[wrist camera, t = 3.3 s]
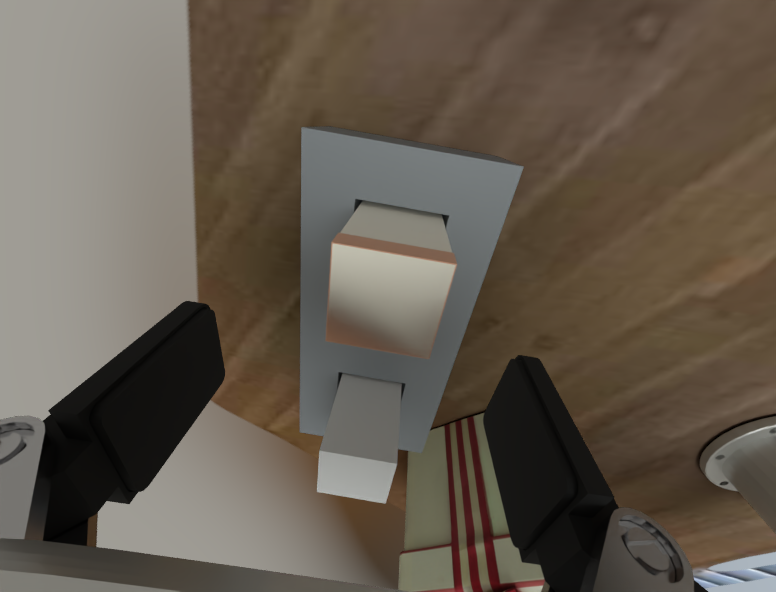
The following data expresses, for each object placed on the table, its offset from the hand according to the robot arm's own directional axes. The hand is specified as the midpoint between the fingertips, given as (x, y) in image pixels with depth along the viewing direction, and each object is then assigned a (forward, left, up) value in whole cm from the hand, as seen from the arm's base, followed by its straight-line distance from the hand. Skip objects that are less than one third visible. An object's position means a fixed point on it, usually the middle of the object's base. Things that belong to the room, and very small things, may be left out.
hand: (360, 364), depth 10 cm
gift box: (-32, +6, -17) cm, 37 cm away
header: (-6, +4, -17) cm, 18 cm away
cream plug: (0, 0, -17) cm, 17 cm away
